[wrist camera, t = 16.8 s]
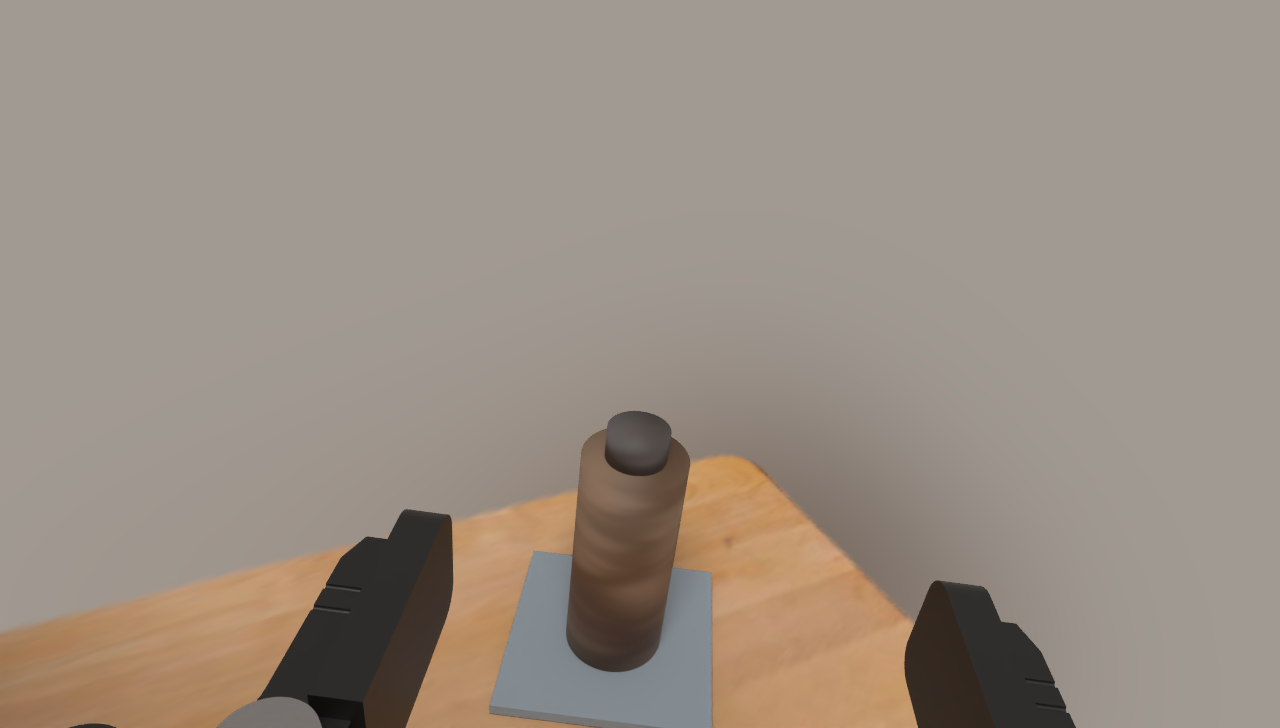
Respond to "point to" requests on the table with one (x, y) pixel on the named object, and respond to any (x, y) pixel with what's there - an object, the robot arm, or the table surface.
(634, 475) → the pepper mill
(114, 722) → the table surface
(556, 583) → the mat
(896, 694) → the table surface
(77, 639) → the table surface
